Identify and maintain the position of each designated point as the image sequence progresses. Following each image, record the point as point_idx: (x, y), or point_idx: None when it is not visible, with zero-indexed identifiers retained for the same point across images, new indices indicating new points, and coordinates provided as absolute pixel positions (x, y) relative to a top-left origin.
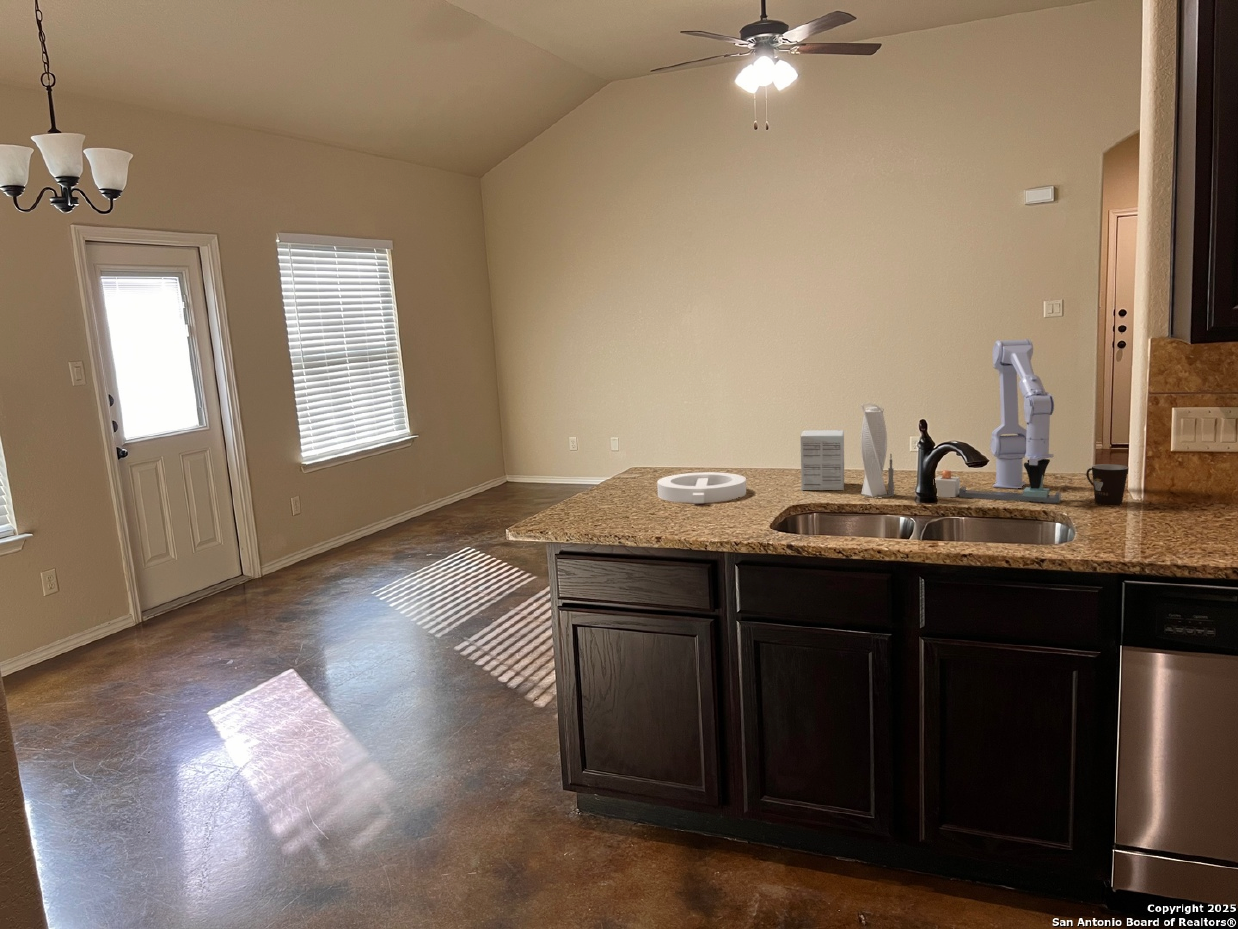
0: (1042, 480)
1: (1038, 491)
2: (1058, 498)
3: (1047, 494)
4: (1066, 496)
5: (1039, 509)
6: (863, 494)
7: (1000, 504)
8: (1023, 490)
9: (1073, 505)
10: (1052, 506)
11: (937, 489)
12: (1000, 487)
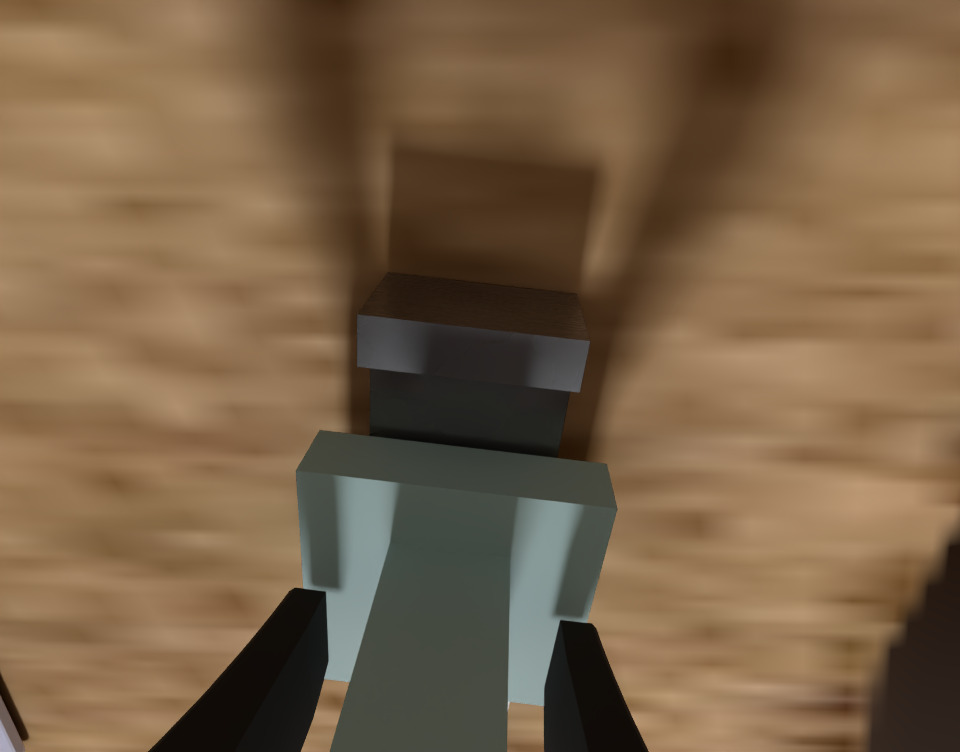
0: (421, 677)
1: (553, 586)
2: (581, 326)
3: (518, 467)
4: (68, 200)
5: (916, 482)
6: None
7: (678, 724)
8: (516, 702)
9: (662, 106)
10: (746, 362)
11: None
12: (9, 717)
